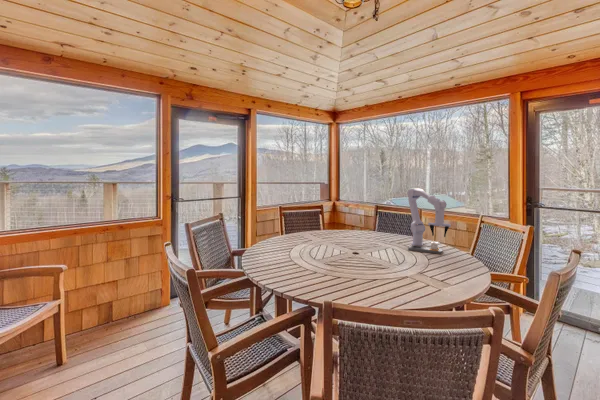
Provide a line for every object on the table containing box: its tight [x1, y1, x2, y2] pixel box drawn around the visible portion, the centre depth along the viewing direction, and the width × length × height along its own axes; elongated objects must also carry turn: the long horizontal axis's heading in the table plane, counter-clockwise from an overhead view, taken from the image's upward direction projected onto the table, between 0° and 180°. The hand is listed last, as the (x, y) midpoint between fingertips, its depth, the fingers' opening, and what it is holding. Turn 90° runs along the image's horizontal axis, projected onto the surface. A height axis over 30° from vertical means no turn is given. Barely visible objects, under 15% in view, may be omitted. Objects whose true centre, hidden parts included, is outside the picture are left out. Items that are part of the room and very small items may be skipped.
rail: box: [407, 244, 444, 255], centre depth 217 cm, size 8×22×2 cm, turn 60°
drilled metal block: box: [430, 241, 439, 250], centre depth 214 cm, size 4×4×7 cm
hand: (438, 236), depth 217 cm, fingers open, 7 cm apart
